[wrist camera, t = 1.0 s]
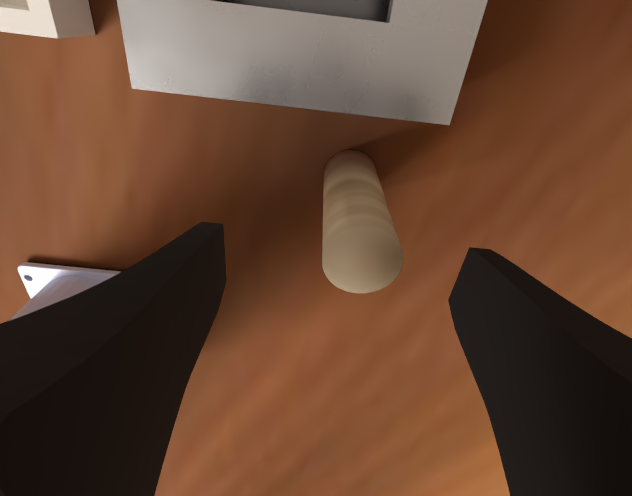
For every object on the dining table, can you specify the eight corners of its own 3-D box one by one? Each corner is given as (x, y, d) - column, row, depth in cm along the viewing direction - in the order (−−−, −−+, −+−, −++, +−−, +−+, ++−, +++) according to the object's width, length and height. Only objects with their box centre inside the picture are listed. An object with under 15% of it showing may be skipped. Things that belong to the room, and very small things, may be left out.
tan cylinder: (370, 201, 20) (393, 296, 13) (321, 196, 20) (318, 289, 13) (380, 152, 18) (412, 232, 12) (327, 146, 18) (327, 223, 11)
